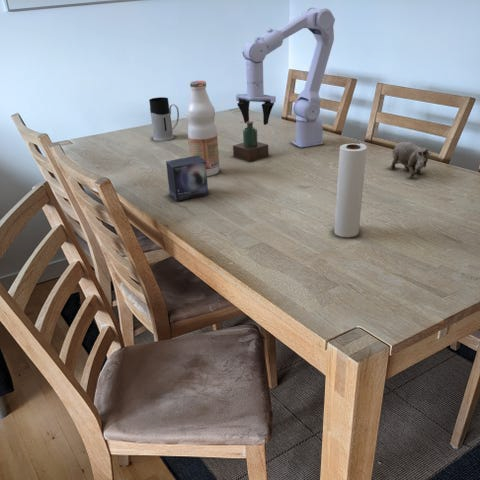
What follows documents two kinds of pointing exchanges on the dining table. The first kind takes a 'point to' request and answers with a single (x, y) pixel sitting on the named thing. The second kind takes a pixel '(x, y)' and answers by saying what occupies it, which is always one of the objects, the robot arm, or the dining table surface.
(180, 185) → the small box
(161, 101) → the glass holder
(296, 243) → the dining table surface
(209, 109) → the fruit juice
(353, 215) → the paper towel roll
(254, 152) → the block
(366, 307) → the dining table surface
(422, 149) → the rhinoceros figurine
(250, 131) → the bottle
